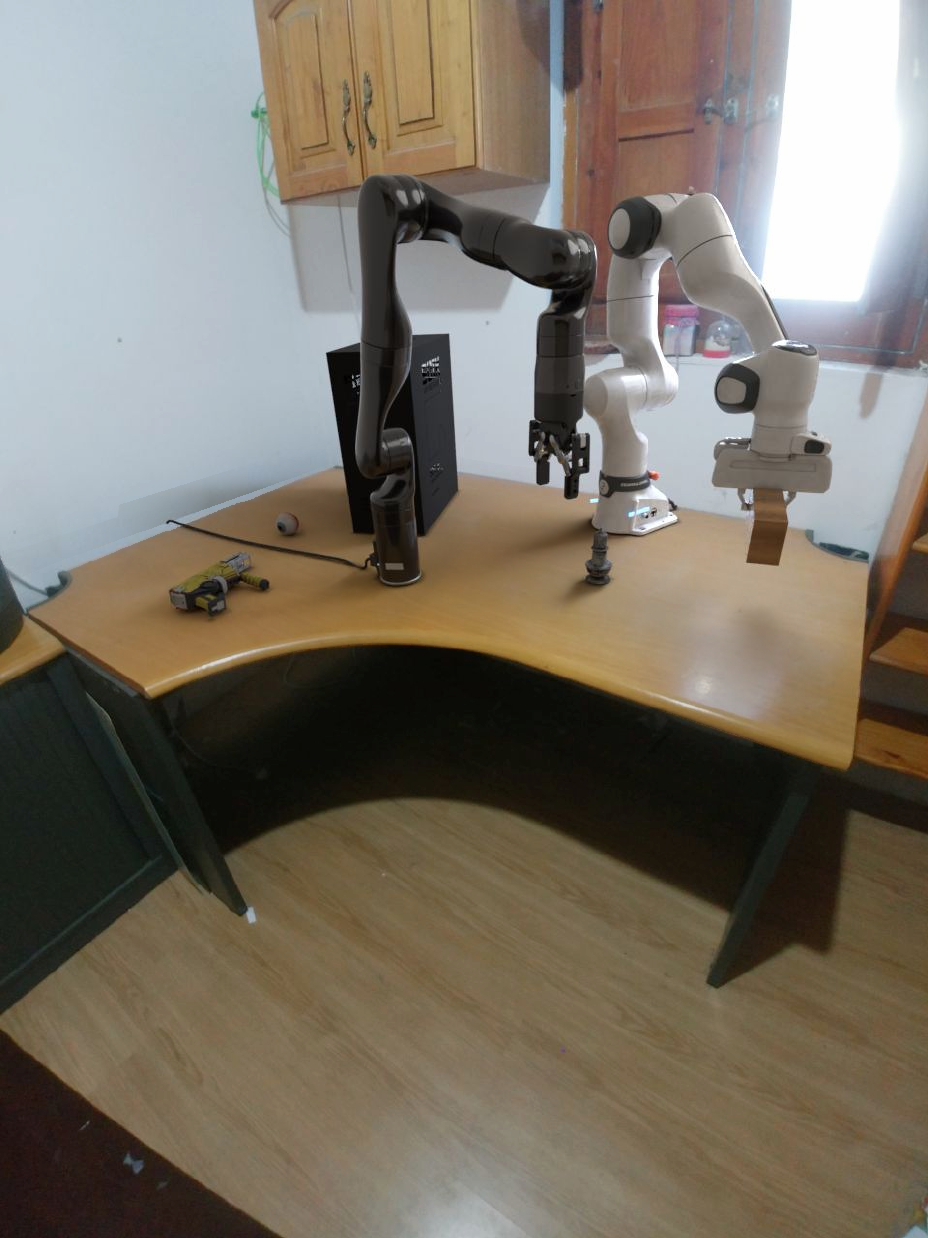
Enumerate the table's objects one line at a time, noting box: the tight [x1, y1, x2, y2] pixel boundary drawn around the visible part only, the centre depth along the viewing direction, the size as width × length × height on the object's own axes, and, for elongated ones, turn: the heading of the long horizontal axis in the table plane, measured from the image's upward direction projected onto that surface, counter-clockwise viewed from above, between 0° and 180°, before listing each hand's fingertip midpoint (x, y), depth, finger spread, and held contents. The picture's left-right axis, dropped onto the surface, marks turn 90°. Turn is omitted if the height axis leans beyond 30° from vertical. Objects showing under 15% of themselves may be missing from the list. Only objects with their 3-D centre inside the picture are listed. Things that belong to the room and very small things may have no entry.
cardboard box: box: [325, 333, 459, 536], centre depth 166 cm, size 38×20×45 cm, turn 167°
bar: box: [744, 488, 789, 567], centre depth 110 cm, size 23×5×8 cm, turn 158°
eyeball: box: [275, 511, 300, 536], centre depth 163 cm, size 6×6×6 cm
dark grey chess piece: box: [584, 527, 614, 585], centre depth 129 cm, size 6×6×12 cm
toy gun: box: [168, 551, 270, 617], centre depth 135 cm, size 5×24×15 cm
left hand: (556, 491), depth 99 cm, fingers open, 8 cm apart
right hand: (762, 511), depth 117 cm, fingers closed on bar, 5 cm apart
